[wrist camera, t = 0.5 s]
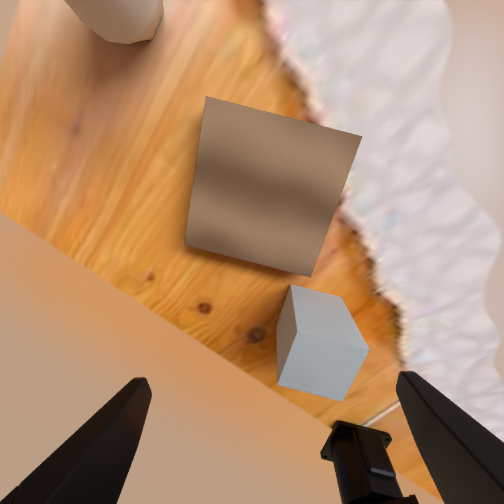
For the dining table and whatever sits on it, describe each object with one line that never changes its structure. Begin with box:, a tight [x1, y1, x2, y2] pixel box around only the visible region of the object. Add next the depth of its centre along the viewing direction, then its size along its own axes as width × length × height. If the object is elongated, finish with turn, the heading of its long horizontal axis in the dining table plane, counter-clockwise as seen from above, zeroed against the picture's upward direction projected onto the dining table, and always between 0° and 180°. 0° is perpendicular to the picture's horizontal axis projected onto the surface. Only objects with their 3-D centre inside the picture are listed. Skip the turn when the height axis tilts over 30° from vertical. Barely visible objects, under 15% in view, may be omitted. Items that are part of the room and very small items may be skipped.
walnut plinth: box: [184, 96, 362, 278], centre depth 19 cm, size 11×11×2 cm
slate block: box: [276, 284, 369, 401], centre depth 20 cm, size 5×5×7 cm
